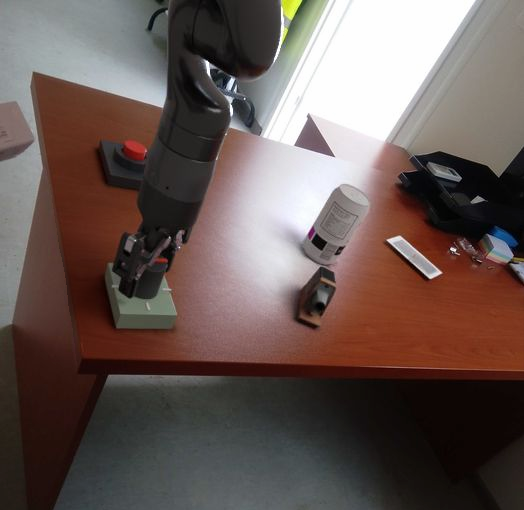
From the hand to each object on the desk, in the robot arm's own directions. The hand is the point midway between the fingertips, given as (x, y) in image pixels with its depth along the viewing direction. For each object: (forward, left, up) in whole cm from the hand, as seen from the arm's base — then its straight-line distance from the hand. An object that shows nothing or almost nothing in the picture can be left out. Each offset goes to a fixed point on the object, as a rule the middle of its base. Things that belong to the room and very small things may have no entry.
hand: (144, 280), depth 64 cm
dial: (0, 0, -1) cm, 1 cm away
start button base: (-22, +28, -4) cm, 37 cm away
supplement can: (+17, +43, -5) cm, 46 cm away
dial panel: (0, 0, -4) cm, 4 cm away
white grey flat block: (+37, +68, -5) cm, 77 cm away
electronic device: (+22, +23, -5) cm, 32 cm away
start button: (-22, +29, -1) cm, 36 cm away
